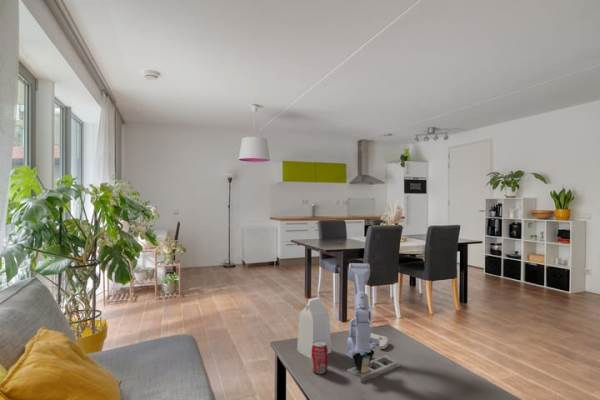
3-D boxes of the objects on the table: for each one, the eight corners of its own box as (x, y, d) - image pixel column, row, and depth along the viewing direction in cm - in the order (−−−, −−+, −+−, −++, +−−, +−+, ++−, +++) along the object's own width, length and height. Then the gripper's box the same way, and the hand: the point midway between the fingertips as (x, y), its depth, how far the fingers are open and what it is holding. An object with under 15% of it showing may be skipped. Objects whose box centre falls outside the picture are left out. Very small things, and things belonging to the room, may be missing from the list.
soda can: (318, 365, 154) (319, 338, 154) (330, 370, 149) (331, 343, 149) (308, 370, 149) (308, 343, 149) (320, 376, 144) (320, 348, 144)
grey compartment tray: (347, 374, 146) (347, 369, 146) (385, 359, 159) (385, 355, 159) (360, 382, 139) (360, 377, 139) (399, 366, 153) (399, 361, 153)
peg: (354, 372, 146) (355, 354, 146) (362, 369, 148) (362, 351, 148) (362, 377, 142) (362, 358, 142) (369, 374, 145) (370, 355, 145)
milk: (312, 359, 159) (312, 304, 158) (297, 350, 168) (297, 298, 167) (331, 352, 166) (331, 299, 166) (315, 344, 175) (315, 294, 175)
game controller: (357, 338, 176) (366, 328, 184) (358, 346, 177) (366, 335, 185) (383, 345, 167) (391, 335, 175) (384, 353, 168) (392, 342, 176)
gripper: (356, 344, 138) (356, 377, 138) (381, 336, 146) (381, 367, 146) (345, 338, 144) (344, 370, 144) (369, 330, 152) (369, 361, 152)
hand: (362, 368), depth 145 cm, fingers closed on peg, 4 cm apart
